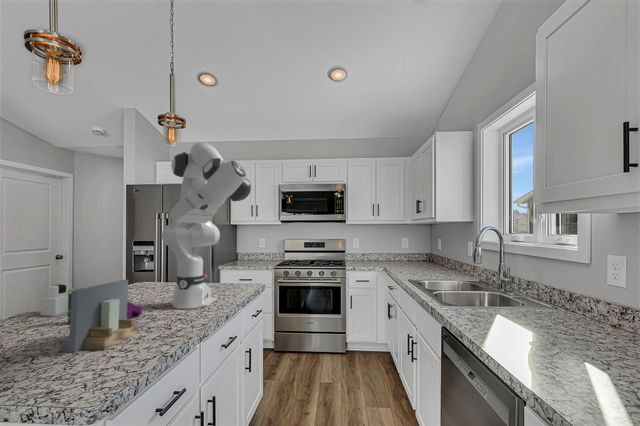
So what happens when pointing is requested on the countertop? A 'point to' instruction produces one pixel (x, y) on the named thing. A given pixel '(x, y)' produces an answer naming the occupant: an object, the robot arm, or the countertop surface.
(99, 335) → the cleat ledge
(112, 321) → the cabinet block
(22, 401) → the countertop surface
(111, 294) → the wall board
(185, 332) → the countertop surface
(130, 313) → the mounting bracket
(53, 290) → the medicine bottle
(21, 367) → the countertop surface
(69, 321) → the coffee box
